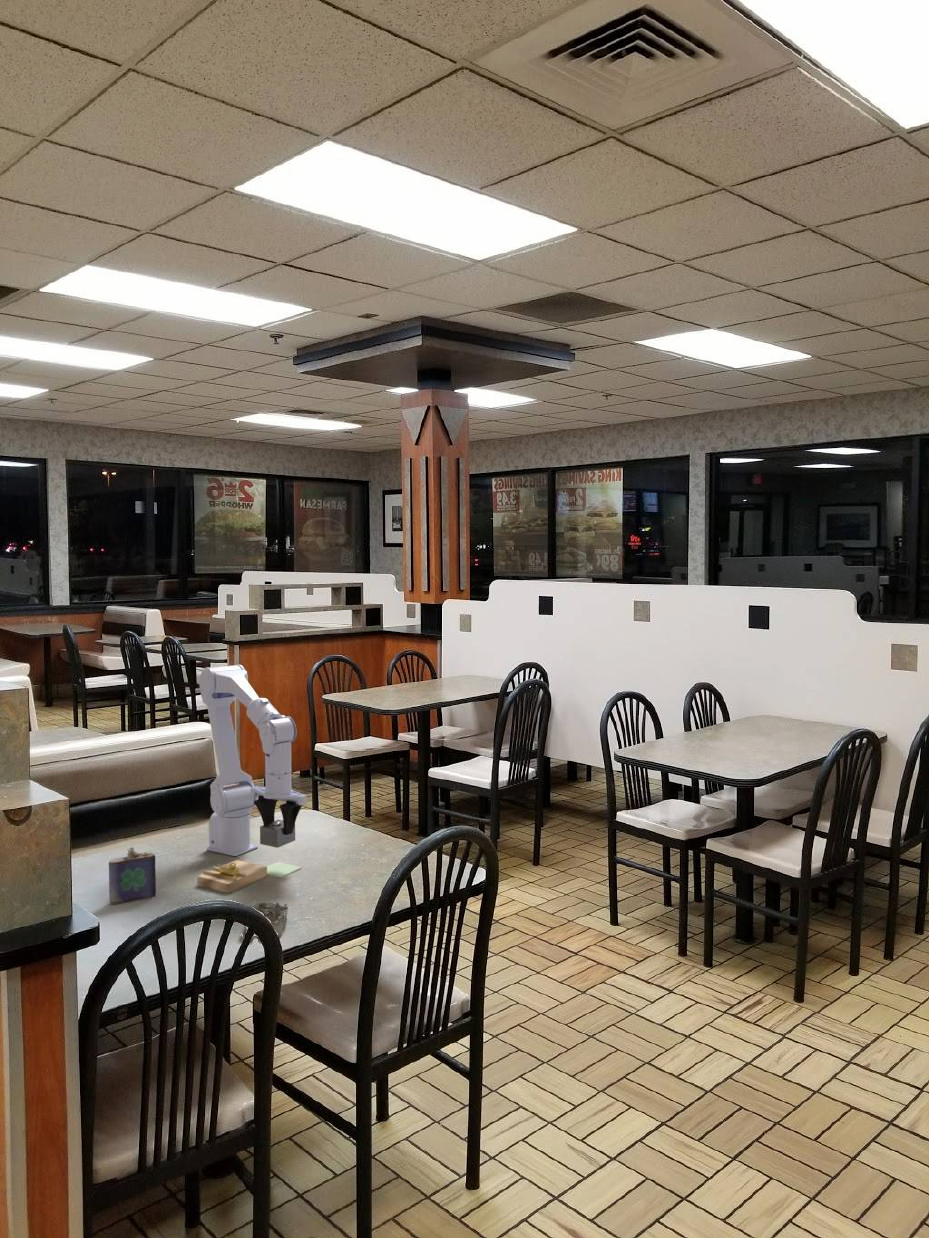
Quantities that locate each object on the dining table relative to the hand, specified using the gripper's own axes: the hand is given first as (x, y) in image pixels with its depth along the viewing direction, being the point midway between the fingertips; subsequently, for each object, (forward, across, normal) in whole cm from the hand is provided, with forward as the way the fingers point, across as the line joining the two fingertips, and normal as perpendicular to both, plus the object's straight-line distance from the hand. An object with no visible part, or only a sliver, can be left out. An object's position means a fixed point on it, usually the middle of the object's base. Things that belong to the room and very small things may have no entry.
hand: (278, 831), depth 211 cm
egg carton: (+9, +18, -25) cm, 33 cm away
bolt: (+7, -3, -12) cm, 15 cm away
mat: (+9, 0, 0) cm, 9 cm away
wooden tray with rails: (+9, -4, -10) cm, 14 cm away
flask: (+9, -14, -28) cm, 33 cm away
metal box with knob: (+2, 0, 0) cm, 2 cm away
